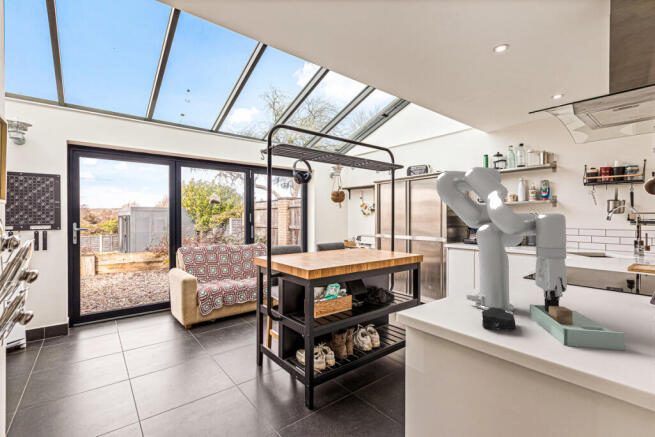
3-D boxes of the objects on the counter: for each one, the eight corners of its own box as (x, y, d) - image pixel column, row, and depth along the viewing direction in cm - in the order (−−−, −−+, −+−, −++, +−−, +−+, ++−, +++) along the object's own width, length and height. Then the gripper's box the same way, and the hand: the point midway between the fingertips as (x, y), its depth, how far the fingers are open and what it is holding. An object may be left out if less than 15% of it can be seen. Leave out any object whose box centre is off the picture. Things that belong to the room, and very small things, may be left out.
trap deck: (563, 345, 77) (563, 329, 77) (529, 317, 98) (529, 304, 98) (624, 350, 74) (624, 333, 74) (575, 320, 95) (575, 306, 95)
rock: (480, 319, 97) (480, 302, 97) (512, 323, 93) (512, 305, 93) (482, 331, 88) (482, 312, 88) (518, 335, 84) (517, 315, 84)
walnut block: (556, 324, 84) (556, 310, 84) (548, 319, 88) (548, 306, 88) (572, 324, 83) (572, 310, 83) (564, 319, 87) (563, 306, 87)
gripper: (527, 250, 99) (528, 304, 100) (548, 256, 85) (549, 319, 85) (553, 250, 98) (554, 305, 98) (578, 256, 83) (580, 321, 83)
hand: (551, 311), depth 91 cm, fingers closed
